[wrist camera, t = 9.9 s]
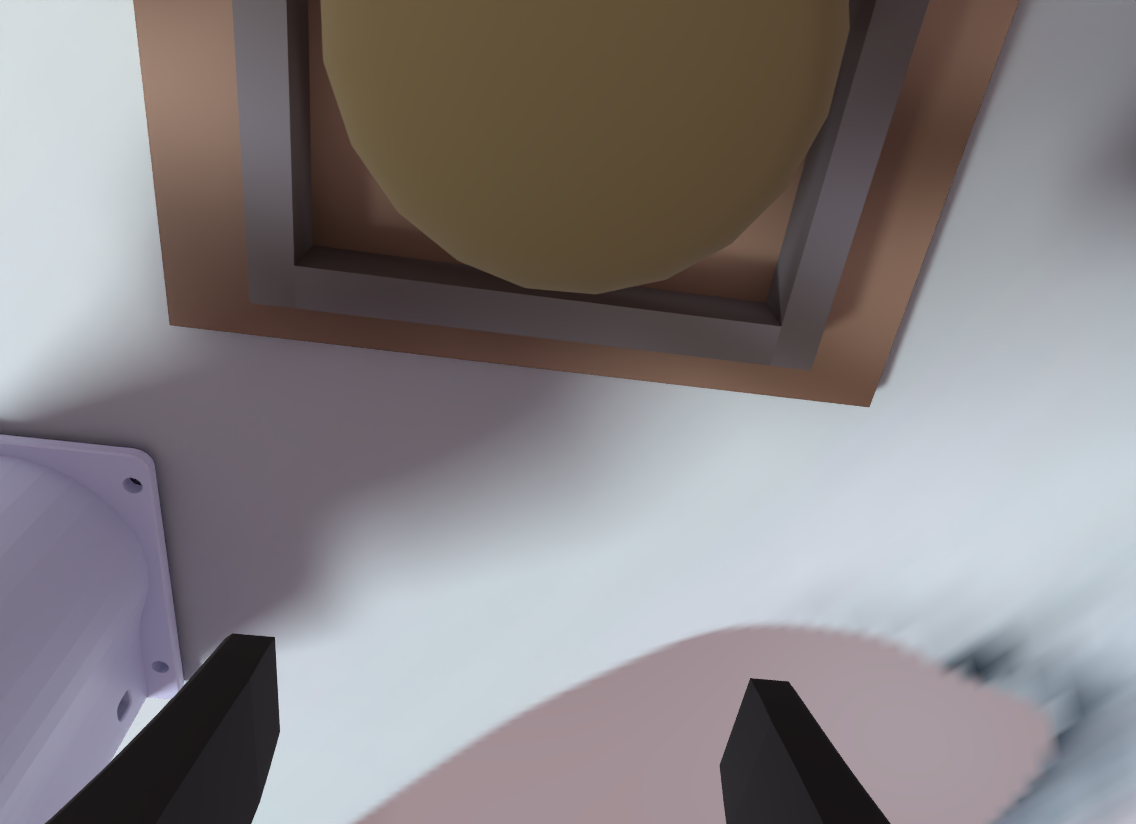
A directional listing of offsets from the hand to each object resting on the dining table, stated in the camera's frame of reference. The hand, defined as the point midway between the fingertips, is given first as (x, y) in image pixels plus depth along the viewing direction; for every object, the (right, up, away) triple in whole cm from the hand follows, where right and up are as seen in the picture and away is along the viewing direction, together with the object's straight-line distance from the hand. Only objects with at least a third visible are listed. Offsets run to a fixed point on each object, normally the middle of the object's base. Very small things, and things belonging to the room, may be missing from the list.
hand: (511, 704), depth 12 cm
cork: (+1, +13, +4) cm, 14 cm away
